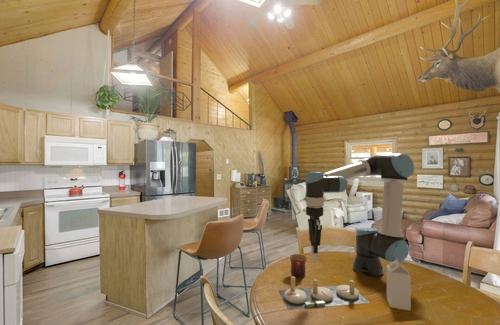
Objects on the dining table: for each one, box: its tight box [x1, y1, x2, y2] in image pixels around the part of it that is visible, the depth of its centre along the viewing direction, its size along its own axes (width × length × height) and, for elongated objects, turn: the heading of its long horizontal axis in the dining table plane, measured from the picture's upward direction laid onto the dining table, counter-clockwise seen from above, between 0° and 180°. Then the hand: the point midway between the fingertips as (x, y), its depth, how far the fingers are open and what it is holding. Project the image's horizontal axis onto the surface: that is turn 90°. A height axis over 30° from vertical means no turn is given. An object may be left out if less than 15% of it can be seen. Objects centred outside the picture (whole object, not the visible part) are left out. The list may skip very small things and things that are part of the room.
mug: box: [289, 253, 307, 279], centre depth 124 cm, size 12×9×10 cm
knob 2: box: [336, 279, 360, 299], centre depth 106 cm, size 9×9×7 cm
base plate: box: [278, 284, 370, 311], centre depth 104 cm, size 35×15×2 cm, turn 99°
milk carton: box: [386, 258, 412, 312], centre depth 99 cm, size 7×7×19 cm
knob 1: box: [285, 275, 307, 304], centre depth 102 cm, size 9×9×7 cm
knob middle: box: [311, 278, 333, 302], centre depth 104 cm, size 9×9×7 cm
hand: (314, 259), depth 107 cm, fingers closed
